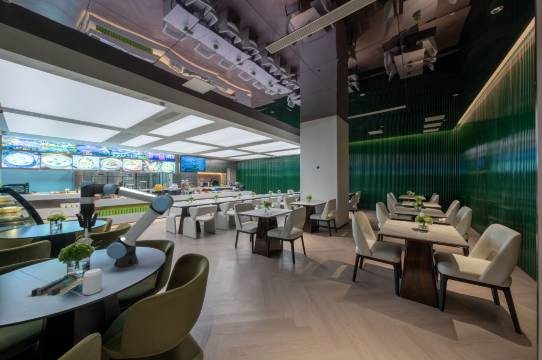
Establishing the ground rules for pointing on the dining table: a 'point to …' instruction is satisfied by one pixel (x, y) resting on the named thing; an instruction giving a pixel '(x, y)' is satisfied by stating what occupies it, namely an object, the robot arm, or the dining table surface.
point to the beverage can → (92, 281)
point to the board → (64, 288)
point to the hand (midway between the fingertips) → (87, 237)
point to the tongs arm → (50, 285)
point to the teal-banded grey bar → (62, 285)
